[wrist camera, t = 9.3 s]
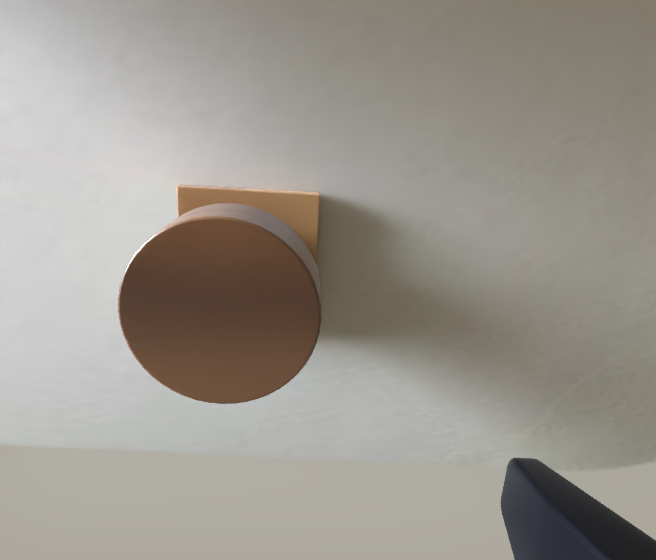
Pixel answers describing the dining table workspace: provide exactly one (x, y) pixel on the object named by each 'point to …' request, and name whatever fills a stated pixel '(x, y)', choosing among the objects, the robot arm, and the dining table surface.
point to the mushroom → (222, 304)
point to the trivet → (261, 206)
